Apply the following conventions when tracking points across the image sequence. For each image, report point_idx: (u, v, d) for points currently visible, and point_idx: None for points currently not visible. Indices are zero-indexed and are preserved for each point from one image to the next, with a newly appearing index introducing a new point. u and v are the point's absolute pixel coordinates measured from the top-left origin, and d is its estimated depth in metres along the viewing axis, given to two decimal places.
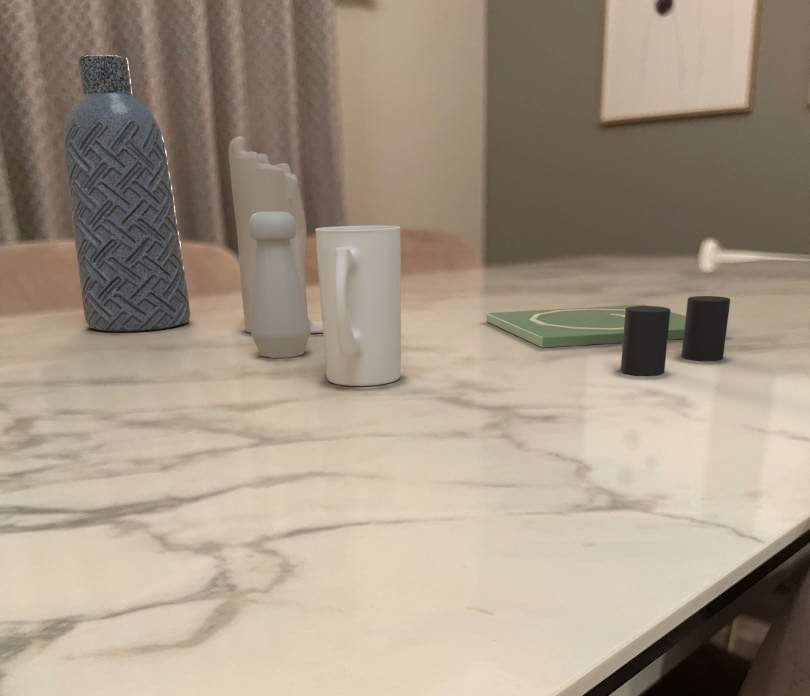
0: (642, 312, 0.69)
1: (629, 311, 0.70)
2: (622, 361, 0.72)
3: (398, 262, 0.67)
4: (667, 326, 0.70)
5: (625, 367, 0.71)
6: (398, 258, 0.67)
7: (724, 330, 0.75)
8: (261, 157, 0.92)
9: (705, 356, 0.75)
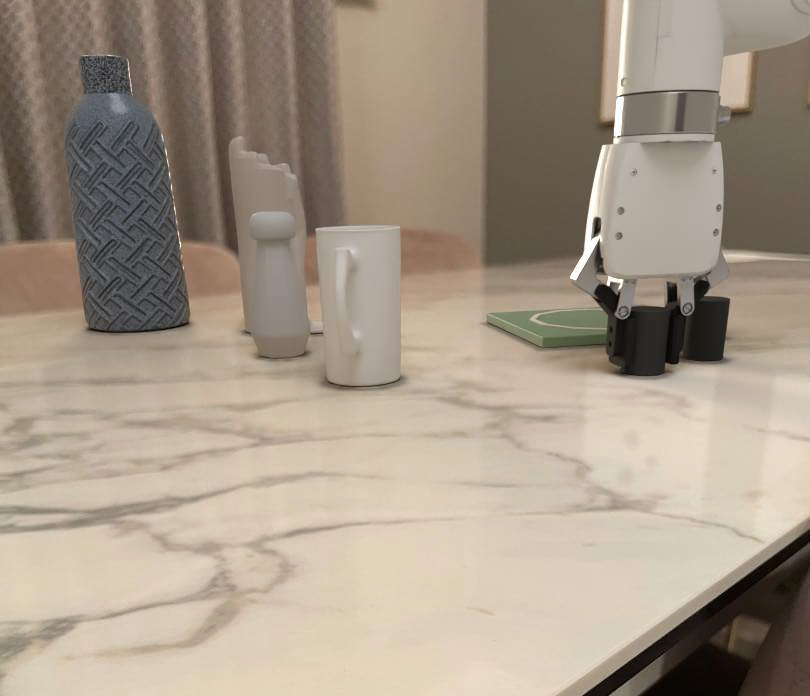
0: (642, 312, 0.69)
1: None
2: None
3: (398, 262, 0.67)
4: (667, 326, 0.70)
5: None
6: (398, 258, 0.67)
7: (724, 330, 0.75)
8: (261, 157, 0.92)
9: (705, 356, 0.75)
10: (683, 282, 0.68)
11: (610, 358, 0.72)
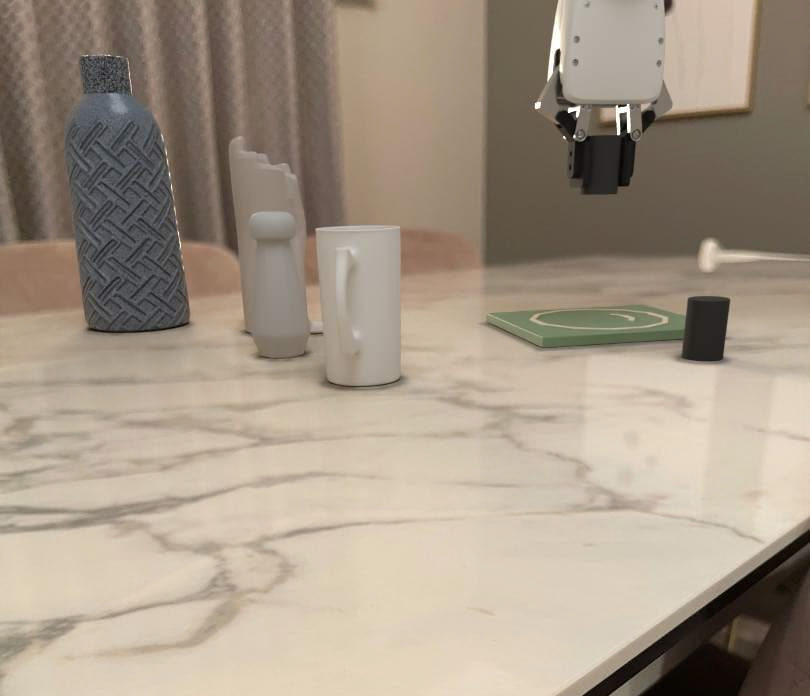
0: (597, 136, 0.80)
1: None
2: None
3: (398, 262, 0.67)
4: (619, 150, 0.81)
5: (583, 189, 0.83)
6: (398, 258, 0.67)
7: (724, 330, 0.75)
8: (261, 157, 0.92)
9: (705, 356, 0.75)
10: (632, 110, 0.80)
11: (571, 183, 0.84)
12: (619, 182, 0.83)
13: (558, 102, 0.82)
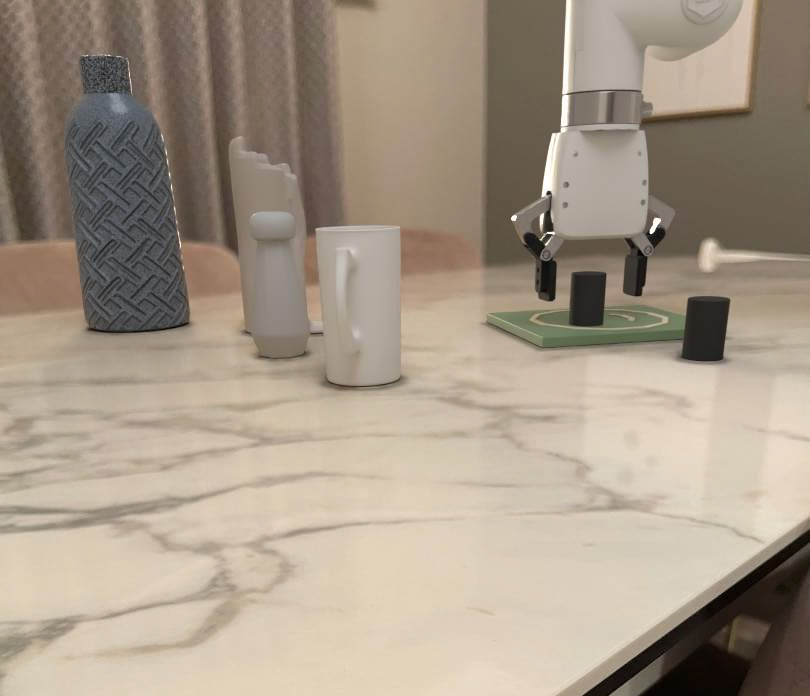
0: (583, 275, 0.87)
1: (573, 274, 0.87)
2: (569, 315, 0.90)
3: (398, 262, 0.67)
4: (604, 286, 0.87)
5: (571, 320, 0.89)
6: (398, 258, 0.67)
7: (724, 330, 0.75)
8: (261, 157, 0.92)
9: (705, 356, 0.75)
10: (634, 235, 0.86)
11: (539, 295, 0.89)
12: (632, 292, 0.89)
13: None
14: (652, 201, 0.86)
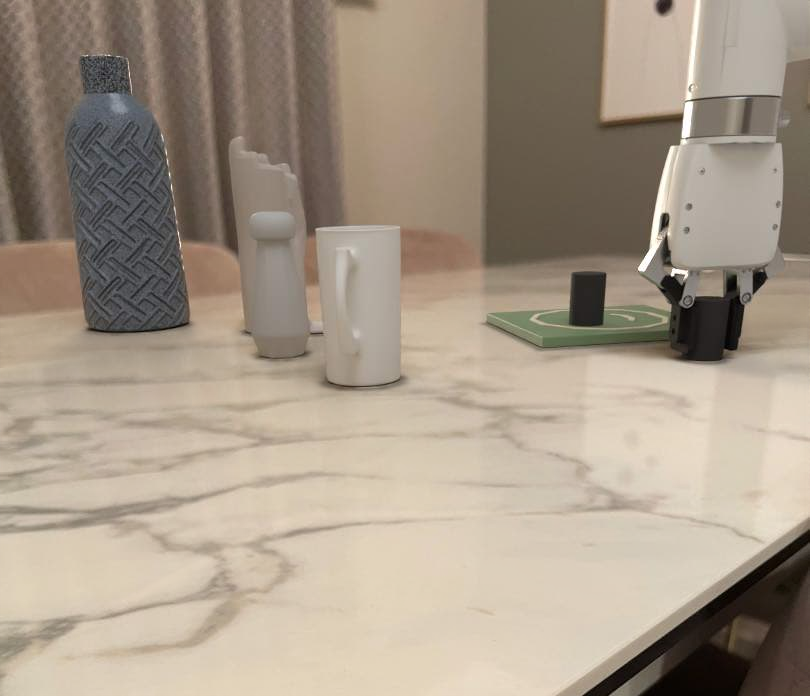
0: (583, 275, 0.87)
1: (573, 274, 0.87)
2: (569, 315, 0.90)
3: (398, 262, 0.67)
4: (604, 286, 0.87)
5: (571, 320, 0.89)
6: (398, 258, 0.67)
7: (724, 330, 0.75)
8: (261, 157, 0.92)
9: (704, 356, 0.75)
10: (743, 273, 0.74)
11: (672, 345, 0.77)
12: (725, 345, 0.76)
13: None
14: None
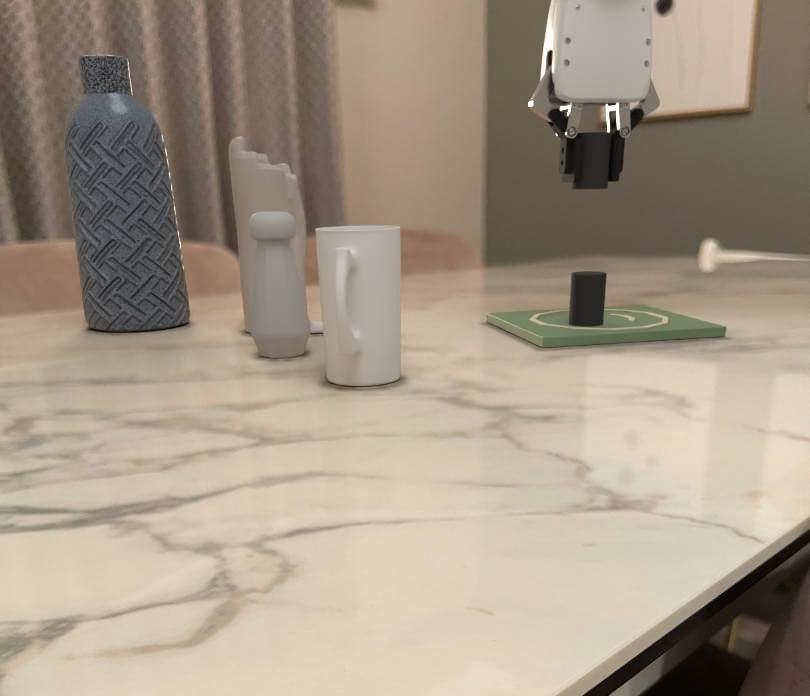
0: (583, 275, 0.87)
1: (573, 274, 0.87)
2: (569, 315, 0.90)
3: (398, 262, 0.67)
4: (604, 286, 0.87)
5: (571, 320, 0.89)
6: (398, 258, 0.67)
7: (606, 161, 0.85)
8: (261, 157, 0.92)
9: (589, 185, 0.85)
10: (621, 108, 0.83)
11: (563, 178, 0.87)
12: (609, 177, 0.86)
13: (550, 101, 0.85)
14: None
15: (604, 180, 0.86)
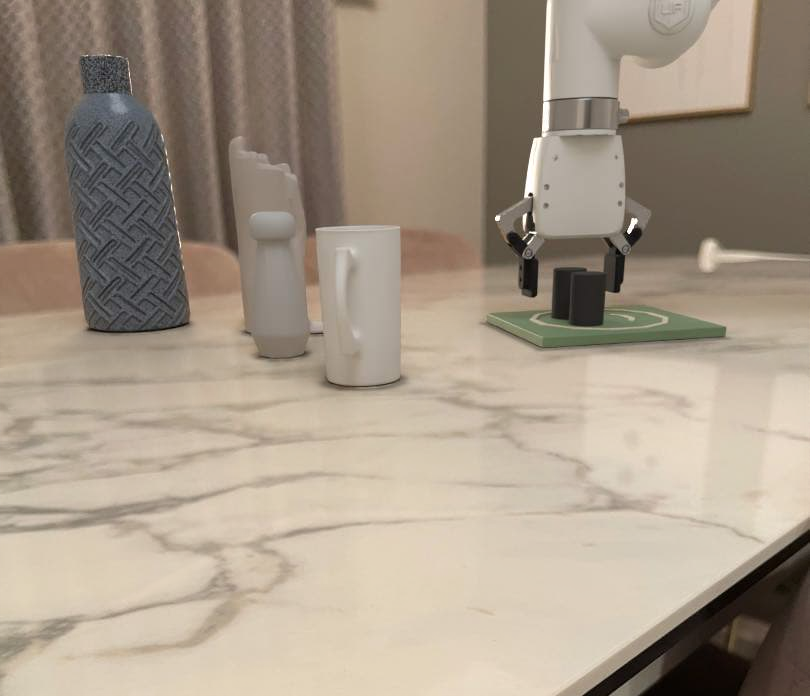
0: (583, 275, 0.87)
1: (573, 274, 0.87)
2: (569, 315, 0.90)
3: (398, 262, 0.67)
4: (604, 286, 0.87)
5: (571, 320, 0.89)
6: (398, 258, 0.67)
7: None
8: (261, 157, 0.92)
9: (567, 316, 0.93)
10: (612, 235, 0.91)
11: (522, 291, 0.93)
12: (611, 289, 0.93)
13: None
14: (629, 202, 0.90)
15: None
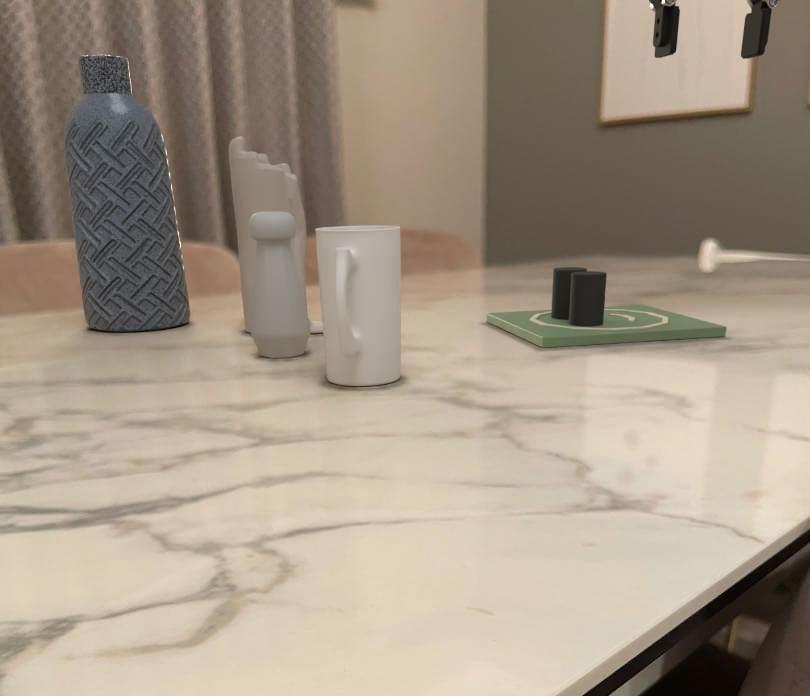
0: (583, 275, 0.87)
1: (573, 274, 0.87)
2: (569, 315, 0.90)
3: (398, 262, 0.67)
4: (604, 286, 0.87)
5: (571, 320, 0.89)
6: (398, 258, 0.67)
7: None
8: (261, 157, 0.92)
9: (567, 316, 0.93)
10: None
11: (656, 53, 0.85)
12: (753, 51, 0.85)
13: None
14: None
15: None
